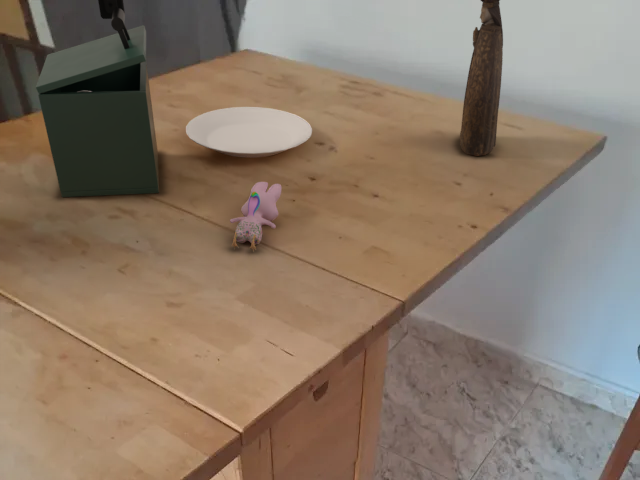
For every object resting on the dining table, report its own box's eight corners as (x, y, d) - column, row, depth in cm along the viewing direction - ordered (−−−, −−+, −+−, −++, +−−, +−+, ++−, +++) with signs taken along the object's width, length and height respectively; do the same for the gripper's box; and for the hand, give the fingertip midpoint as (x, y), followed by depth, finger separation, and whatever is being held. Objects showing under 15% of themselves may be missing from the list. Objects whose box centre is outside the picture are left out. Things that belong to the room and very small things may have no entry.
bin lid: (146, 31, 98) (133, -5, 95) (146, 61, 88) (131, 21, 85) (50, 60, 99) (33, 25, 95) (38, 94, 88) (19, 55, 85)
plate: (228, 177, 104) (227, 163, 103) (165, 133, 117) (163, 119, 115) (336, 150, 114) (337, 136, 112) (267, 112, 126) (267, 99, 124)
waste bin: (157, 153, 110) (146, 59, 101) (159, 193, 100) (145, 92, 90) (70, 157, 108) (49, 61, 99) (61, 197, 98) (37, 94, 88)
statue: (443, 140, 119) (469, -31, 102) (479, 134, 121) (511, -33, 104) (472, 158, 113) (505, -19, 96) (509, 152, 116) (547, -22, 99)
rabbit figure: (267, 262, 89) (293, 196, 98) (265, 224, 84) (292, 158, 93) (221, 256, 90) (251, 191, 99) (216, 217, 85) (248, 153, 94)
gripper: (60, -161, 88) (88, 4, 100) (47, -152, 77) (81, 32, 89) (120, -159, 89) (141, 4, 101) (116, -150, 78) (140, 31, 91)
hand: (113, 16), depth 95 cm, fingers closed
